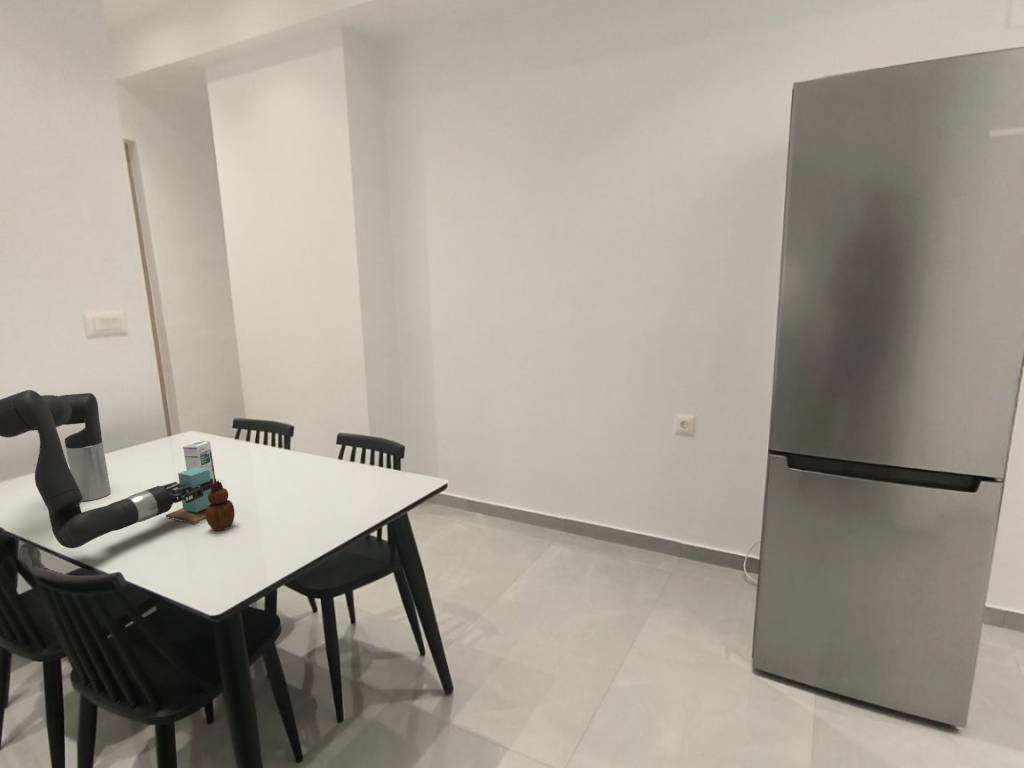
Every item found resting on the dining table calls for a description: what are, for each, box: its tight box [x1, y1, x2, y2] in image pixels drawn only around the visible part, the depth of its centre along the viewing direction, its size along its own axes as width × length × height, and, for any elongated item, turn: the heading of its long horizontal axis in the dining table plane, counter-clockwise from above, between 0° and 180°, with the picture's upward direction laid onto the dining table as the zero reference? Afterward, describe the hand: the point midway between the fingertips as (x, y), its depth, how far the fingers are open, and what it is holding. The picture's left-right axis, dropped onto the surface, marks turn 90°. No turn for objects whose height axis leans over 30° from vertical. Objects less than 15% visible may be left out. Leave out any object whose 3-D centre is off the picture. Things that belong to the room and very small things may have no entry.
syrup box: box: [182, 440, 216, 483], centre depth 185 cm, size 6×6×14 cm
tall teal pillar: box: [177, 467, 211, 512], centre depth 162 cm, size 6×6×11 cm
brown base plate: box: [165, 507, 207, 525], centre depth 163 cm, size 12×12×8 cm
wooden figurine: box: [205, 477, 235, 532], centre depth 152 cm, size 7×6×15 cm
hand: (203, 483), depth 165 cm, fingers closed on tall teal pillar, 5 cm apart
